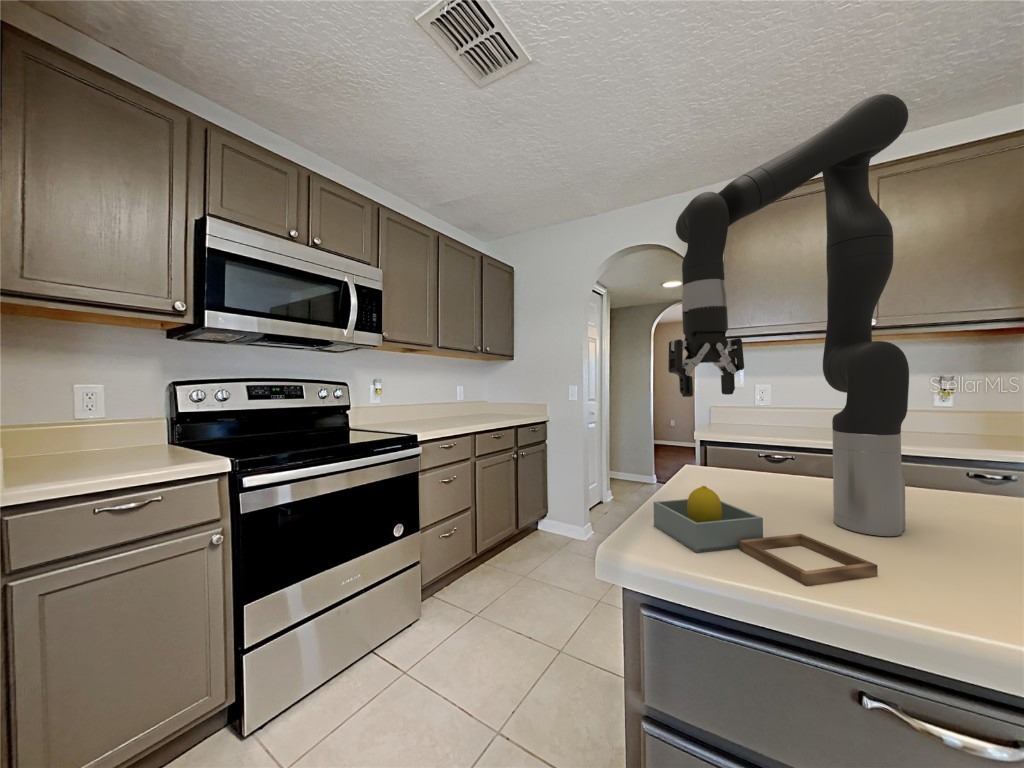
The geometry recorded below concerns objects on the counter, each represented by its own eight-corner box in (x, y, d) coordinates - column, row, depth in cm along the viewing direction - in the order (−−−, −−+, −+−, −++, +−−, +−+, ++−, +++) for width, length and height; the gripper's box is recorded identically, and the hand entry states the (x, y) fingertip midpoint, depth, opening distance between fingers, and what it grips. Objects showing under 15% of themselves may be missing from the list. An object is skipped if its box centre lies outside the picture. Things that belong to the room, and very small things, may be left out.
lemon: (726, 538, 67) (726, 490, 66) (691, 536, 68) (690, 489, 68) (716, 526, 72) (716, 482, 72) (684, 525, 73) (683, 481, 73)
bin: (711, 520, 77) (711, 496, 77) (763, 545, 65) (762, 517, 65) (653, 525, 75) (653, 501, 75) (696, 553, 63) (696, 524, 63)
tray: (800, 542, 66) (800, 533, 66) (877, 575, 55) (877, 564, 55) (739, 549, 64) (739, 540, 64) (806, 585, 52) (806, 574, 52)
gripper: (722, 311, 79) (725, 393, 79) (658, 311, 76) (661, 396, 76) (752, 304, 72) (756, 394, 72) (683, 303, 69) (686, 398, 69)
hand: (707, 395), depth 74 cm, fingers open, 8 cm apart
